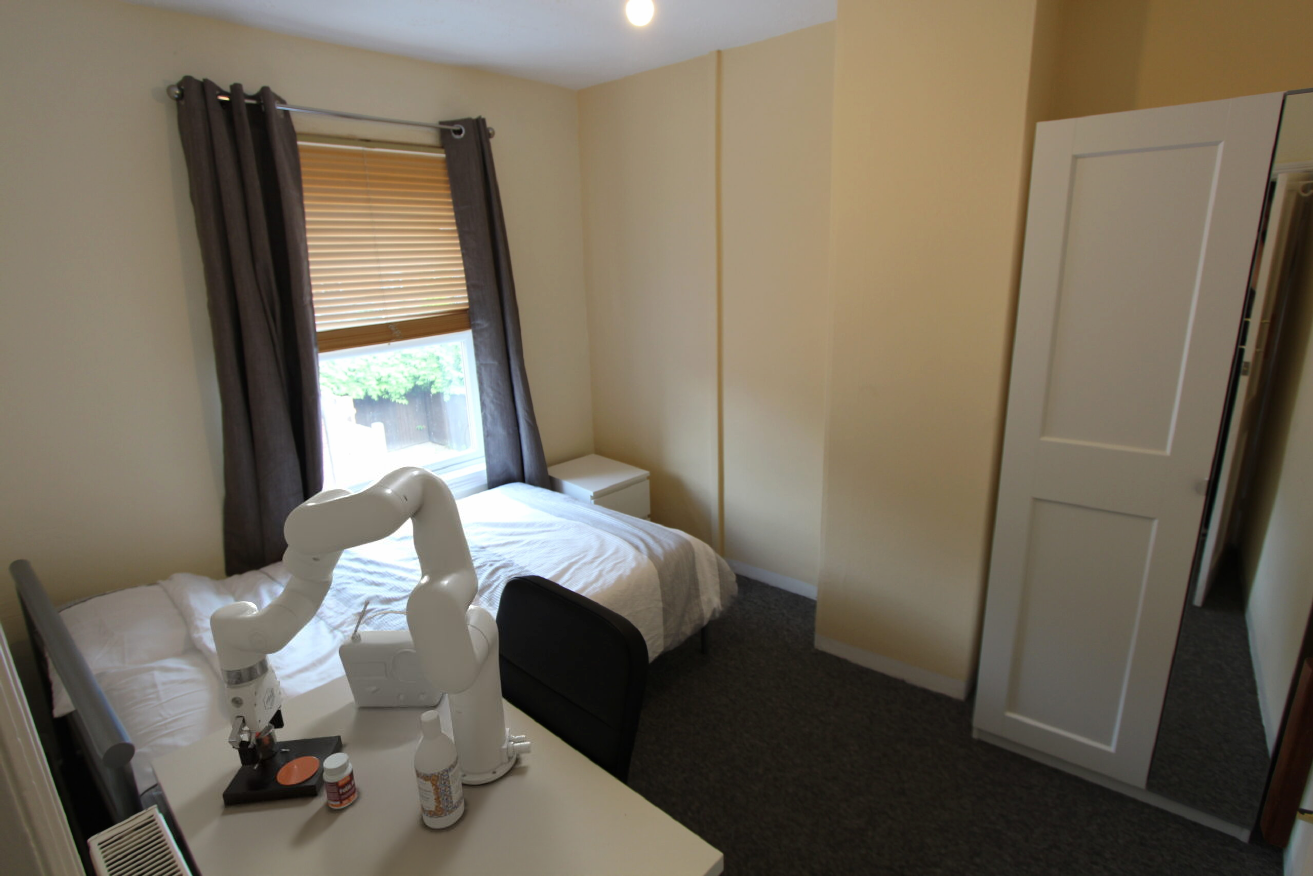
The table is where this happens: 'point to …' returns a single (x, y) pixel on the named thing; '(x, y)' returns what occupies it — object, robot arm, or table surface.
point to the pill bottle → (339, 781)
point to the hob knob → (266, 742)
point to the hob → (262, 777)
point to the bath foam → (438, 774)
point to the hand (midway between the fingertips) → (263, 745)
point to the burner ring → (298, 770)
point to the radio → (385, 668)
